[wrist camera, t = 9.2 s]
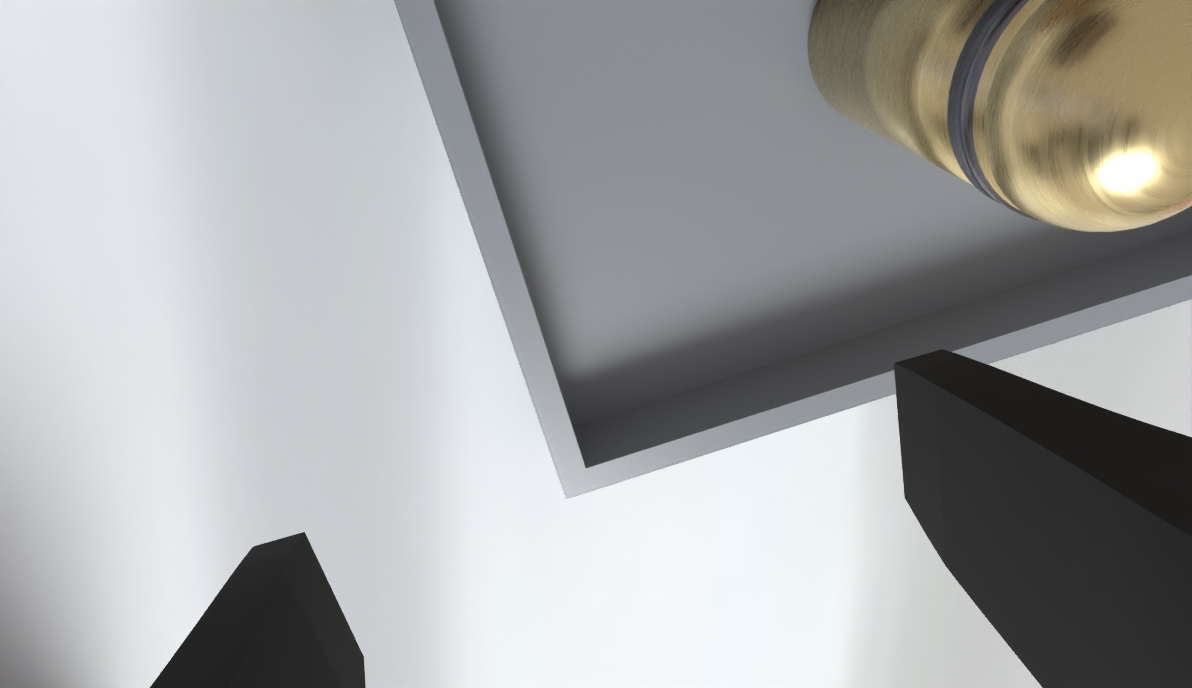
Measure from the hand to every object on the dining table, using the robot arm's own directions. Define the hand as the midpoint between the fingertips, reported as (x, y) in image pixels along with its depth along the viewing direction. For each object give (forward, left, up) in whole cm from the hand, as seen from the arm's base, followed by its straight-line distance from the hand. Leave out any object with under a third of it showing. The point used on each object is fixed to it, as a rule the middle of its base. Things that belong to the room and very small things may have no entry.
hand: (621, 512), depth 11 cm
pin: (+8, +2, -9) cm, 12 cm away
